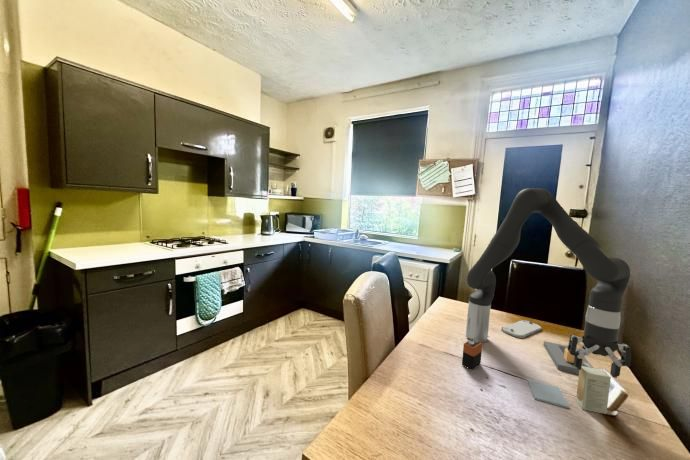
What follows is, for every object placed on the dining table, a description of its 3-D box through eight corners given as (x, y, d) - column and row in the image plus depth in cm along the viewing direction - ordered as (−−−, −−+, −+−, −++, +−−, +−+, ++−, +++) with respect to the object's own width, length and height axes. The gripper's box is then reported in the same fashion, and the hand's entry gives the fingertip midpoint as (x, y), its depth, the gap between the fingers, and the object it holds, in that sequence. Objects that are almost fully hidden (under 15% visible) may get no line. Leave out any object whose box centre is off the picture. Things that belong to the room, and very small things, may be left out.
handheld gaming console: (520, 335, 126) (499, 326, 134) (520, 340, 126) (499, 331, 135) (544, 325, 138) (523, 317, 146) (543, 330, 138) (522, 322, 147)
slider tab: (582, 364, 103) (583, 355, 103) (566, 361, 105) (567, 351, 105) (579, 360, 106) (580, 351, 106) (563, 357, 108) (564, 348, 108)
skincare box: (598, 405, 85) (604, 369, 84) (606, 415, 81) (612, 377, 80) (574, 399, 87) (579, 364, 86) (581, 409, 83) (586, 372, 82)
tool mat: (534, 399, 87) (534, 397, 87) (527, 380, 96) (527, 379, 96) (569, 408, 83) (569, 406, 83) (558, 388, 92) (558, 387, 92)
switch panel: (597, 378, 99) (598, 373, 99) (557, 369, 104) (558, 364, 103) (576, 351, 117) (576, 347, 117) (543, 345, 122) (543, 340, 122)
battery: (461, 365, 104) (463, 340, 103) (470, 359, 108) (472, 336, 107) (472, 371, 100) (474, 345, 99) (480, 365, 104) (483, 340, 103)
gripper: (577, 322, 81) (571, 372, 82) (641, 332, 75) (633, 386, 77) (568, 313, 88) (563, 360, 89) (626, 322, 82) (619, 372, 83)
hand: (595, 372), depth 83 cm, fingers open, 8 cm apart
